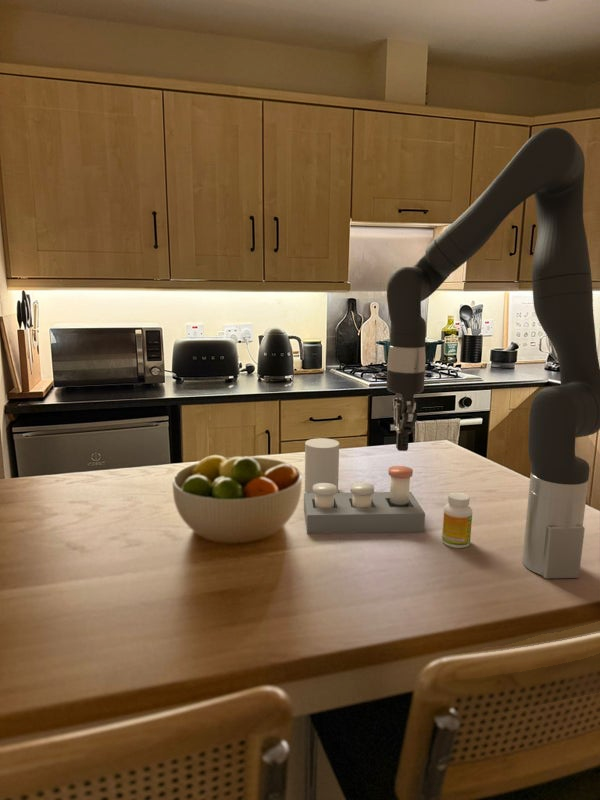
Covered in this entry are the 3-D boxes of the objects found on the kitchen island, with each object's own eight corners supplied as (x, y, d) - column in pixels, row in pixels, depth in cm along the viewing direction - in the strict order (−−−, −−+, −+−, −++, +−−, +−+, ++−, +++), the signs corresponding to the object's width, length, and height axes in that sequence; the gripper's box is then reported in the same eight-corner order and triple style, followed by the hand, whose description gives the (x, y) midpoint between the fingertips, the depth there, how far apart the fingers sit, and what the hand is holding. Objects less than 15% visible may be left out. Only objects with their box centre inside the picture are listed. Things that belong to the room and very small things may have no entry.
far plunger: (337, 522, 120) (337, 491, 118) (313, 523, 120) (313, 491, 118) (334, 513, 125) (335, 482, 123) (311, 513, 125) (311, 482, 123)
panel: (424, 531, 117) (425, 513, 117) (307, 533, 116) (307, 515, 115) (410, 508, 129) (411, 491, 128) (303, 510, 128) (303, 493, 127)
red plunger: (413, 505, 120) (415, 473, 118) (390, 505, 120) (391, 473, 118) (408, 496, 125) (409, 465, 123) (385, 496, 125) (386, 465, 123)
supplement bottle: (471, 550, 110) (474, 502, 108) (442, 547, 111) (445, 500, 109) (468, 537, 115) (472, 492, 113) (441, 535, 116) (444, 489, 114)
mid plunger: (375, 522, 120) (376, 490, 119) (351, 522, 120) (352, 491, 119) (371, 512, 125) (372, 482, 124) (348, 513, 125) (349, 482, 123)
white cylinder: (338, 485, 144) (339, 438, 141) (337, 497, 136) (338, 448, 133) (306, 483, 144) (306, 437, 142) (303, 495, 136) (303, 447, 134)
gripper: (433, 373, 110) (427, 460, 114) (416, 362, 123) (412, 440, 127) (394, 373, 110) (390, 460, 113) (381, 362, 123) (378, 440, 126)
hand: (401, 449), depth 120 cm, fingers closed
